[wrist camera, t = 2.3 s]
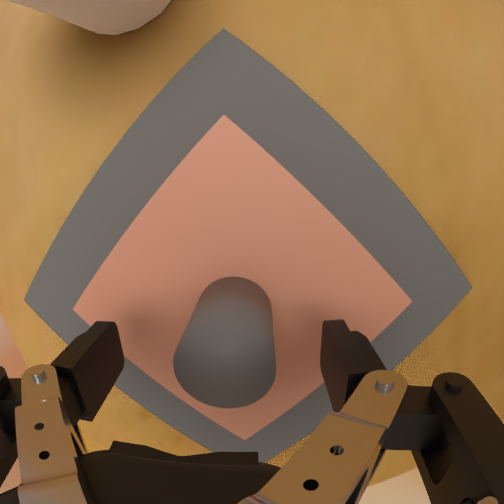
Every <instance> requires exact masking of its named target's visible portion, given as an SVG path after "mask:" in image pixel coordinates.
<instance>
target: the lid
mask: <svg viewBox="0 0 504 504" xmlns="http://www.w3.org/2000/svg"><path fill="white" fill-rule="evenodd" d="M411 302H412V300H411V299H410V298H409V297H408V296H407V294H406V293H405V292H404V291H403V290H402V289H401V288H400V286H399V285H398V284H397V283H396V282H395V281H394V280H393V279H392V277H391V276H390V275H389V274H388V273H387V272H386V271H385V270H384V268H383V267H382V266H381V265H380V264H379V263H378V262H377V261H376V260H375V259H374V258H373V256H372V255H371V254H370V253H369V252H368V251H367V250H366V249H365V248H364V247H363V246H362V245H361V244H360V243H359V242H358V240H357V239H356V238H355V237H354V236H353V235H352V234H351V233H350V232H349V231H348V230H347V229H346V228H345V227H344V226H343V225H342V224H341V223H340V222H339V221H338V220H337V219H336V218H335V217H334V216H333V215H332V214H331V213H330V212H329V211H328V210H327V209H326V208H325V207H324V206H323V205H322V204H321V203H320V202H319V201H318V200H317V199H316V198H315V197H314V196H313V195H312V194H311V193H310V192H309V191H308V190H307V189H306V188H305V187H304V186H303V185H302V184H301V183H300V182H299V181H298V180H297V179H295V178H294V177H293V176H292V175H291V174H290V173H289V172H288V171H287V170H286V169H285V168H284V167H283V166H282V165H281V164H279V163H278V162H277V161H276V160H275V159H274V158H273V157H272V156H271V155H270V154H269V153H267V152H266V151H265V150H264V149H263V148H262V147H261V146H260V145H259V144H257V143H256V142H255V141H254V140H253V139H252V138H251V137H249V136H248V135H247V134H246V133H245V132H244V131H243V130H241V129H240V128H239V127H238V126H237V125H236V124H235V123H233V122H232V121H231V120H230V119H229V118H228V117H226V116H225V115H223V116H222V117H221V118H220V119H219V120H218V121H217V122H216V123H215V124H214V126H213V127H212V128H211V129H210V130H209V131H208V132H207V133H206V134H205V135H204V136H203V138H202V139H201V140H200V141H199V142H198V143H197V144H196V145H195V146H194V148H193V149H192V150H191V151H190V152H189V153H188V154H187V156H186V157H185V158H184V159H183V160H182V161H181V163H180V164H179V165H178V166H177V167H176V168H175V170H174V171H173V172H172V173H171V174H170V176H169V177H168V178H167V179H166V180H165V182H164V183H163V184H162V185H161V187H160V188H159V189H158V190H157V192H156V193H155V194H154V195H153V196H152V198H151V199H150V200H149V202H148V203H147V204H146V205H145V207H144V208H143V209H142V211H141V212H140V213H139V214H138V216H137V217H136V218H135V220H134V221H133V222H132V224H131V225H130V226H129V228H128V229H127V230H126V232H125V233H124V234H123V236H122V237H121V238H120V240H119V241H118V243H117V244H116V245H115V247H114V248H113V250H112V251H111V252H110V254H109V255H108V257H107V258H106V259H105V261H104V262H103V264H102V265H101V267H100V268H99V270H98V271H97V273H96V274H95V275H94V277H93V278H92V280H91V281H90V283H89V284H88V286H87V288H86V289H85V291H84V292H83V294H82V295H81V297H80V298H79V300H78V301H77V303H76V305H75V306H74V308H73V310H74V311H75V312H76V313H77V314H78V315H79V316H80V317H81V318H82V319H83V320H84V321H85V322H86V323H87V324H89V325H90V326H92V325H93V324H94V323H95V322H96V321H112V322H115V323H116V325H117V328H118V332H119V336H120V341H121V345H122V349H123V354H124V356H125V357H126V358H127V359H129V360H130V361H131V362H132V363H134V364H135V365H136V366H137V367H139V368H140V369H141V370H142V371H144V372H145V373H146V374H147V375H149V376H150V377H151V378H153V379H154V380H155V381H157V382H158V383H159V384H161V385H162V386H163V387H165V388H166V389H167V390H169V391H170V392H171V393H173V394H174V395H176V396H177V397H178V398H180V399H181V400H183V401H184V402H186V403H187V404H188V405H190V406H191V407H193V408H194V409H196V410H197V411H199V412H200V413H202V414H203V415H205V416H206V417H208V418H209V419H211V420H212V421H214V422H216V423H217V424H219V425H220V426H222V427H223V428H225V429H227V430H228V431H230V432H232V433H233V434H235V435H237V436H238V437H240V438H242V439H243V440H246V439H247V438H249V437H250V436H252V435H253V434H255V433H256V432H258V431H259V430H261V429H262V428H264V427H265V426H267V425H268V424H269V423H271V422H272V421H274V420H275V419H277V418H278V417H279V416H281V415H282V414H284V413H285V412H286V411H288V410H289V409H290V408H292V407H293V406H294V405H296V404H297V403H298V402H300V401H301V400H302V399H304V398H305V397H306V396H307V395H309V394H310V393H311V392H313V391H314V390H315V389H316V388H318V387H319V386H320V385H321V384H323V383H324V379H323V376H322V372H321V367H320V351H321V337H322V325H323V321H324V320H338V319H343V320H344V321H345V323H346V325H347V326H348V328H349V330H350V331H358V332H360V333H362V334H363V335H365V336H366V337H367V338H368V340H369V341H370V342H371V341H372V340H373V339H375V338H376V337H377V336H378V335H379V334H380V333H381V332H382V331H383V330H384V329H385V328H386V327H387V326H388V325H389V324H390V323H391V322H392V321H393V320H394V319H395V318H396V317H397V316H398V315H399V314H400V313H401V312H402V311H403V310H404V309H405V308H406V307H407V306H408V305H409V304H410V303H411Z"/></svg>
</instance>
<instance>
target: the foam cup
mask: <svg viewBox="0 0 504 504" xmlns="http://www.w3.org/2000/svg"><path fill="white" fill-rule="evenodd" d="M7 1H10V2H14V3H17V4H20V5H23V6H26V7H29V8H32V9H35V10H38V11H41V12H43V13H46V14H49V15H52V16H54V17H57V18H59V19H62V20H65V21H67V22H70V23H72V24H75V25H77V26H79V27H82V28H84V29H87V30H89V31H94V32H95V33H97V34H108V35H118V34H121V33H125V32H128V31H131V30H135V29H138V28H140V27H141V26H143V25H144V24H146V23H147V22H149V21H150V20H152V19H153V18H155V17H157V16H158V15H160V14H161V13H162V11H163V10H164V9H165V8H166V6H167V5H168V4H169V3H170V2H171V0H7Z"/></svg>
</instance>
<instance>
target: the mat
mask: <svg viewBox="0 0 504 504" xmlns="http://www.w3.org/2000/svg"><path fill="white" fill-rule="evenodd" d="M223 115H225V116H226V117H228V118H229V119H230V120H231V121H232V122H233V123H235V124H236V125H237V126H238V127H239V128H240V129H241V130H243V131H244V132H245V133H246V134H247V135H248V136H249V137H251V138H252V139H253V140H254V141H255V142H256V143H257V144H259V145H260V146H261V147H262V148H263V149H264V150H265V151H266V152H267V153H269V154H270V155H271V156H272V157H273V158H274V159H275V160H276V161H277V162H278V163H279V164H281V165H282V166H283V167H284V168H285V169H286V170H287V171H288V172H289V173H290V174H291V175H292V176H293V177H294V178H295V179H297V180H298V181H299V182H300V183H301V184H302V185H303V186H304V187H305V188H306V189H307V190H308V191H309V192H310V193H311V194H312V195H313V196H314V197H315V198H316V199H317V200H318V201H319V202H320V203H321V204H322V205H323V206H324V207H325V208H326V209H327V210H328V211H329V212H330V213H331V214H332V215H333V216H334V217H335V218H336V219H337V220H338V221H339V222H340V223H341V224H342V225H343V226H344V227H345V228H346V229H347V230H348V231H349V232H350V233H351V234H352V235H353V236H354V237H355V238H356V239H357V240H358V242H359V243H360V244H361V245H362V246H363V247H364V248H365V249H366V250H367V251H368V252H369V253H370V254H371V255H372V256H373V258H374V259H375V260H376V261H377V262H378V263H379V264H380V265H381V266H382V267H383V268H384V270H385V271H386V272H387V273H388V274H389V275H390V276H391V277H392V279H393V280H394V281H395V282H396V283H397V284H398V285H399V286H400V288H401V289H402V290H403V291H404V292H405V293H406V294H407V296H408V297H409V298H410V299H411V300H412V302H411V303H410V304H409V305H408V306H407V307H406V308H405V309H404V310H403V311H402V312H401V313H400V314H399V315H398V316H397V317H396V318H395V319H394V320H393V321H392V322H391V323H390V324H389V325H388V326H387V327H386V328H385V329H384V330H383V331H382V332H381V333H380V334H379V335H378V336H377V337H376V338H375V339H373V340H372V341H371V342H370V343H371V346H373V348H374V349H375V352H376V353H377V354H378V356H379V357H380V359H381V361H382V362H383V364H384V366H385V367H386V369H387V370H389V371H391V370H392V369H394V368H395V367H396V366H397V365H398V364H399V363H400V362H401V361H402V360H403V359H405V358H406V357H407V356H408V355H409V354H410V353H411V352H412V351H413V350H414V349H415V348H416V347H417V346H418V345H419V344H420V343H421V342H422V341H423V340H424V339H425V338H426V337H427V336H428V335H429V334H430V333H431V332H432V331H433V330H434V329H435V328H436V327H437V326H438V325H439V324H440V323H441V322H442V321H443V320H444V319H445V318H446V317H447V316H448V315H449V313H450V312H451V311H452V310H453V309H454V308H455V307H456V306H457V305H458V303H459V302H460V301H461V300H462V299H463V298H464V297H465V295H466V294H467V293H468V292H469V291H470V290H471V288H472V286H471V285H470V283H469V282H468V280H467V279H466V277H465V276H464V274H463V273H462V271H461V270H460V268H459V267H458V265H457V264H456V262H455V261H454V259H453V258H452V256H451V255H450V254H449V252H448V251H447V249H446V248H445V247H444V245H443V244H442V242H441V241H440V240H439V238H438V237H437V236H436V234H435V233H434V232H433V230H432V229H431V228H430V226H429V225H428V224H427V222H426V221H425V220H424V219H423V217H422V216H421V215H420V213H419V212H418V211H417V210H416V208H415V207H414V206H413V205H412V204H411V202H410V201H409V200H408V199H407V197H406V196H405V195H404V194H403V193H402V191H401V190H400V189H399V188H398V187H397V186H396V184H395V183H394V182H393V181H392V180H391V179H390V177H389V176H388V175H387V174H386V173H385V172H384V171H383V170H382V168H381V167H380V166H379V165H378V164H377V163H376V162H375V161H374V160H373V159H372V158H371V156H370V155H369V154H368V153H367V152H366V151H365V150H364V149H363V148H362V147H361V146H360V145H359V144H358V143H357V142H356V141H355V140H354V139H353V138H352V137H351V136H350V135H349V134H348V133H347V132H346V131H345V130H344V129H343V128H342V127H341V126H340V125H339V124H338V123H337V122H336V121H335V120H334V119H333V118H332V117H331V116H330V115H329V114H328V113H327V112H326V111H325V110H324V109H323V108H321V107H320V106H319V105H318V104H317V103H316V102H315V101H314V100H313V99H312V98H311V97H309V96H308V95H307V94H306V93H305V92H304V91H303V90H302V89H300V88H299V87H298V86H297V85H296V84H295V83H293V82H292V81H291V80H290V79H289V78H288V77H286V76H285V75H284V74H283V73H282V72H280V71H279V70H278V69H277V68H275V67H274V66H273V65H272V64H270V63H269V62H268V61H267V60H265V59H264V58H263V57H262V56H260V55H259V54H258V53H256V52H255V51H254V50H252V49H251V48H250V47H249V46H247V45H246V44H244V43H243V42H242V41H240V40H239V39H238V38H236V37H235V36H233V35H232V34H231V33H229V32H228V31H226V30H225V29H224V28H223V29H222V30H221V31H220V32H219V33H218V34H217V35H216V36H214V37H213V38H212V39H211V40H210V41H209V42H208V43H207V44H206V45H205V46H204V47H203V48H202V49H201V50H200V51H199V52H198V53H197V54H196V55H195V56H194V57H193V58H192V59H191V60H190V61H189V62H188V63H187V64H186V65H185V66H184V67H183V68H182V69H181V70H180V71H179V72H178V73H177V74H176V75H175V76H174V77H173V78H172V79H171V80H170V81H169V83H168V84H167V85H166V86H165V87H164V88H163V89H162V90H161V91H160V92H159V94H158V95H157V96H156V97H155V98H154V99H153V100H152V102H151V103H150V104H149V105H148V106H147V107H146V109H145V110H144V111H143V112H142V113H141V115H140V116H139V117H138V118H137V119H136V121H135V122H134V123H133V124H132V126H131V127H130V128H129V129H128V131H127V132H126V133H125V134H124V136H123V137H122V138H121V140H120V141H119V142H118V144H117V145H116V146H115V148H114V149H113V150H112V152H111V153H110V154H109V156H108V157H107V158H106V160H105V161H104V163H103V164H102V165H101V167H100V168H99V170H98V171H97V172H96V174H95V175H94V177H93V178H92V180H91V181H90V183H89V184H88V186H87V187H86V189H85V190H84V192H83V193H82V195H81V196H80V198H79V199H78V201H77V203H76V204H75V206H74V207H73V209H72V211H71V212H70V214H69V216H68V217H67V219H66V221H65V222H64V224H63V226H62V227H61V229H60V231H59V232H58V234H57V236H56V238H55V239H54V241H53V243H52V245H51V247H50V249H49V250H48V252H47V254H46V256H45V258H44V260H43V262H42V264H41V266H40V268H39V269H38V271H37V273H36V275H35V277H34V280H33V282H32V284H31V286H30V288H29V290H28V292H27V294H26V296H25V299H24V300H25V301H26V303H27V304H28V305H29V306H30V307H31V308H32V309H33V310H34V311H35V312H36V313H37V314H38V315H39V317H40V318H41V319H42V320H43V321H44V322H45V323H46V324H47V325H48V326H49V327H50V328H51V329H52V330H53V331H54V332H55V333H56V334H57V335H58V336H59V337H60V338H61V339H62V340H63V341H65V342H66V343H67V344H68V345H70V343H71V342H72V341H73V340H74V339H75V338H76V337H77V336H79V335H81V334H83V333H84V332H86V331H87V330H88V329H89V328H90V327H91V326H90V325H89V324H87V323H86V322H85V321H84V320H83V319H82V318H81V317H80V316H79V315H78V314H77V313H76V312H75V311H74V310H73V308H74V306H75V305H76V303H77V301H78V300H79V298H80V297H81V295H82V294H83V292H84V291H85V289H86V288H87V286H88V284H89V283H90V281H91V280H92V278H93V277H94V275H95V274H96V273H97V271H98V270H99V268H100V267H101V265H102V264H103V262H104V261H105V259H106V258H107V257H108V255H109V254H110V252H111V251H112V250H113V248H114V247H115V245H116V244H117V243H118V241H119V240H120V238H121V237H122V236H123V234H124V233H125V232H126V230H127V229H128V228H129V226H130V225H131V224H132V222H133V221H134V220H135V218H136V217H137V216H138V214H139V213H140V212H141V211H142V209H143V208H144V207H145V205H146V204H147V203H148V202H149V200H150V199H151V198H152V196H153V195H154V194H155V193H156V192H157V190H158V189H159V188H160V187H161V185H162V184H163V183H164V182H165V180H166V179H167V178H168V177H169V176H170V174H171V173H172V172H173V171H174V170H175V168H176V167H177V166H178V165H179V164H180V163H181V161H182V160H183V159H184V158H185V157H186V156H187V154H188V153H189V152H190V151H191V150H192V149H193V148H194V146H195V145H196V144H197V143H198V142H199V141H200V140H201V139H202V138H203V136H204V135H205V134H206V133H207V132H208V131H209V130H210V129H211V128H212V127H213V126H214V124H215V123H216V122H217V121H218V120H219V119H220V118H221V117H222V116H223ZM114 385H115V386H116V387H118V388H119V389H120V390H121V391H123V392H124V393H125V394H127V395H128V396H129V397H131V398H132V399H133V400H135V401H136V402H137V403H139V404H140V405H141V406H143V407H144V408H146V409H147V410H148V411H150V412H151V413H153V414H154V415H155V416H157V417H158V418H160V419H161V420H163V421H164V422H166V423H167V424H169V425H170V426H172V427H173V428H175V429H176V430H178V431H179V432H181V433H182V434H184V435H186V436H187V437H189V438H190V439H192V440H194V441H195V442H197V443H199V444H200V445H202V446H204V447H205V448H207V449H209V450H211V451H212V452H258V457H259V462H262V463H264V462H266V461H268V460H269V459H271V458H273V457H274V456H276V455H278V454H279V453H281V452H283V451H284V450H286V449H287V448H289V447H291V446H292V445H294V444H295V443H297V442H298V441H300V440H301V439H303V438H304V437H306V436H307V435H309V434H310V433H312V432H313V431H315V429H316V428H317V427H318V426H319V424H320V423H321V422H322V421H323V419H324V418H325V417H326V416H327V415H328V413H329V412H331V411H332V410H333V408H332V405H331V402H330V398H329V395H328V392H327V389H326V385H325V382H324V383H323V384H321V385H320V386H319V387H318V388H316V389H315V390H314V391H313V392H311V393H310V394H309V395H307V396H306V397H305V398H304V399H302V400H301V401H300V402H298V403H297V404H296V405H294V406H293V407H292V408H290V409H289V410H288V411H286V412H285V413H284V414H282V415H281V416H279V417H278V418H277V419H275V420H274V421H272V422H271V423H269V424H268V425H267V426H265V427H264V428H262V429H261V430H259V431H258V432H256V433H255V434H253V435H252V436H250V437H249V438H247V439H246V440H243V439H242V438H240V437H238V436H237V435H235V434H233V433H232V432H230V431H228V430H227V429H225V428H223V427H222V426H220V425H219V424H217V423H216V422H214V421H212V420H211V419H209V418H208V417H206V416H205V415H203V414H202V413H200V412H199V411H197V410H196V409H194V408H193V407H191V406H190V405H188V404H187V403H186V402H184V401H183V400H181V399H180V398H178V397H177V396H176V395H174V394H173V393H171V392H170V391H169V390H167V389H166V388H165V387H163V386H162V385H161V384H159V383H158V382H157V381H155V380H154V379H153V378H151V377H150V376H149V375H147V374H146V373H145V372H144V371H142V370H141V369H140V368H139V367H137V366H136V365H135V364H134V363H132V362H131V361H130V360H129V359H127V358H126V357H125V356H124V368H123V370H122V372H121V374H120V375H119V377H118V379H117V380H116V382H115V384H114Z"/></svg>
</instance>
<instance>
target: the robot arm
mask: <svg viewBox="0 0 504 504" xmlns="http://www.w3.org/2000/svg"><path fill="white" fill-rule="evenodd" d="M320 367H321V372H322V376H323V379H324V382H325V385H326V389H327V392H328V395H329V398H330V402H331V405H332V408H333V410H332V411H331V412H329V413H328V415H327V416H326V417H325V418H324V419H323V421H322V422H321V423H320V424H319V426H318V427H317V428H316V429H315V431H314V432H313V433H312V434H311V435H310V436H309V438H308V439H307V440H306V441H305V442H304V444H303V445H302V446H301V447H300V448H299V449H298V450H297V452H296V453H295V454H294V455H293V456H292V457H291V458H290V459H289V460H288V462H287V463H286V464H285V465H284V466H283V467H282V468H280V467H277V466H275V465H271V464H267V463H262V462H259V457H258V452H214V453H207V454H199V455H191V456H176V455H173V454H170V453H166V452H163V451H160V450H157V449H154V448H151V447H148V446H145V445H138V444H131V443H125V442H119V441H113V443H112V445H111V447H110V449H109V450H102V451H95V452H91V453H88V450H87V448H86V445H85V442H84V439H83V436H82V433H81V430H80V427H79V425H78V423H77V422H78V421H79V419H81V420H86V421H91V422H92V421H93V419H94V418H95V416H96V414H97V412H98V411H99V409H100V407H101V406H102V404H103V402H104V400H105V399H106V397H107V395H108V394H109V392H110V390H111V389H112V387H113V385H114V384H115V382H116V380H117V379H118V377H119V375H120V374H121V372H122V370H123V368H124V354H123V349H122V345H121V341H120V336H119V332H118V328H117V325H116V323H115V322H112V321H96V322H95V323H94V324H93V325H92V326H91V327H90V328H89V329H88V330H87V331H86V332H84V333H83V334H81V335H79V336H77V337H76V338H75V339H74V340H73V341H72V342H71V343H70V345H68V346H67V347H66V348H65V350H63V351H62V352H61V353H60V355H59V356H58V357H57V358H56V359H55V360H54V361H53V362H52V363H51V364H50V365H47V364H41V365H36V366H33V367H31V368H29V369H27V370H26V371H25V372H24V373H23V374H22V377H21V378H12V379H11V378H8V376H7V373H6V371H5V369H4V368H3V367H1V366H0V487H1V485H2V483H3V481H4V480H5V478H6V476H7V475H8V473H9V471H10V469H11V468H12V466H13V464H14V463H15V461H16V459H17V458H18V459H19V467H20V475H21V484H20V485H19V486H17V487H16V488H13V489H11V490H8V491H6V492H4V493H2V494H0V504H358V503H359V501H360V499H361V497H362V495H363V493H364V491H365V489H366V488H367V486H368V484H369V482H370V481H371V479H372V477H373V475H374V473H375V472H376V470H377V468H378V466H379V464H380V462H381V460H382V459H383V457H384V455H385V453H386V451H387V449H390V450H411V451H412V454H413V456H414V459H415V461H416V464H417V467H418V469H419V472H420V474H421V477H422V480H423V482H424V485H425V488H426V490H427V493H428V496H429V499H430V502H431V504H504V424H503V423H502V421H501V420H500V419H499V417H498V416H497V415H496V413H495V412H494V411H493V409H492V408H491V406H490V405H489V404H488V402H487V401H486V400H485V398H484V397H483V396H482V395H481V393H480V392H479V391H478V389H477V388H476V387H475V385H474V384H473V383H472V382H471V381H470V379H468V378H467V377H465V376H464V375H461V374H458V373H452V372H448V373H442V374H440V375H438V376H436V377H435V379H434V380H433V383H432V387H425V386H410V385H407V381H406V379H405V378H404V377H403V376H402V375H400V374H399V373H396V372H394V371H389V370H387V369H386V367H385V366H384V364H383V362H382V361H381V359H380V357H379V356H378V354H377V353H376V352H375V349H374V348H373V346H371V343H370V341H369V340H368V338H367V337H366V336H365V335H363V334H362V333H360V332H358V331H350V330H349V328H348V326H347V325H346V323H345V321H344V320H343V319H338V320H324V321H323V325H322V337H321V351H320Z"/></svg>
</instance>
